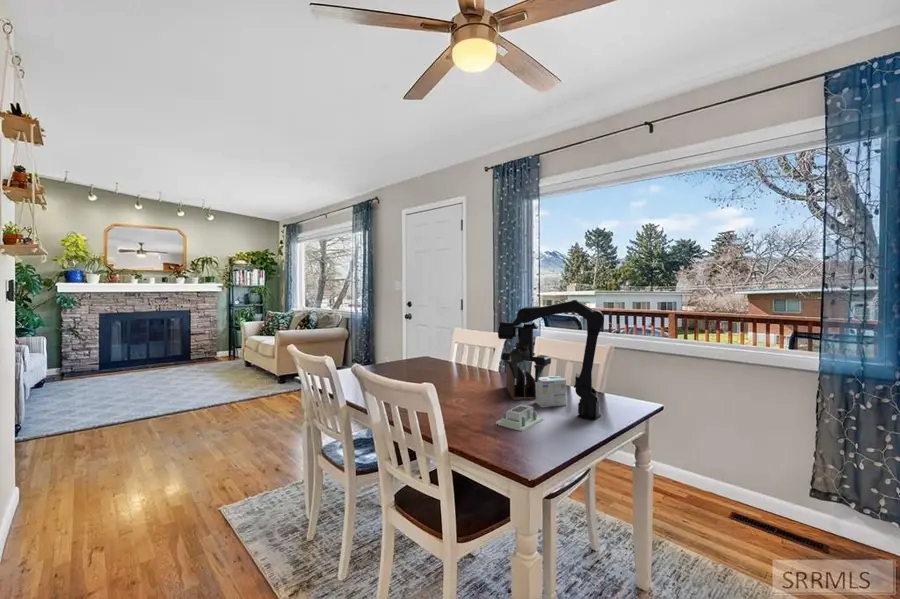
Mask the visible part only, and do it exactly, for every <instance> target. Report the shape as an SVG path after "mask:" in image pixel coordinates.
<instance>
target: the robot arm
mask: <svg viewBox="0 0 900 599" xmlns="http://www.w3.org/2000/svg"><path fill="white" fill-rule="evenodd" d="M570 312H575V314H577V315H579V316H580V317H582V318H583V319H585V320H586V331H587V335H586V342H585V347H584V354H583V359H582V366H581V371H580V373H577V372H576V373H575V376H574V377H575V380H574V384H573V388H574V390H575V394H576V395H577V397H579V398H580V399H579V402H578V404H577V417H578V418H582V419H586V420H591V421H596V420H597V419H598V418H601V416H602V415H601V414H600V400H598V399H599V398H598V397H599V396H598V395H599V394H598V391H597V390H596V389H595V388H594V387H593V381H592V380H593V377H592V376H593V374H592V373H593V366H594V360H595V354H596V350H597V342H598V336H599V334H600V331H601V329H602V328H603V325H604V320H605V318H604V314H603V312H602V311H601V310H599V309H592V308H590V307H589V306H587V305H586V304H584V303H582V302H581V301H580V300H578V299H572V300H569V301H563V302H559V303H554V304H550V305H544V306H524V307H522V308H520V309H518V311H517V314H516V318H515V319H514V320H513V321H512V322H509V321H499V324H498V331H497V337H498V339H499V340H514V339H515V338H517V342H516V344H515V348H514V349H513V348H512V350H511V351H510V350H507V351H504V352H502V353H501V356H500V357H501V358H500V360H502V361H503V362H504V363H506V365H507V364H508V365H509V366H510V369H511V371H512V374H513V377H514V379H515V380H516V376H517V366H518V364H519V363H520V364H521V363H523V362H524V361H527V362H534V364H535V365H533V367H534V370H535V371H534V380H535V383H536V382H537V381H538V379H539V377H541V374H542V372H543V370H544V369H545V367H546V366H549V365H550V364H551V363H552V358H551V357H550V355H542V354H540V355H537V356H536V355H535V354H536V353H535V352H534V346H535V345H536V344H535V341H534V330H537V329H539V326H538V325H537V324H536V322H535V321H536V320H538V319H541V318H543V317H548V316H553V315H554V316H555V315H557V314H564V313H570ZM531 322H532V323H531ZM521 324H523V325H521Z"/></svg>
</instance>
